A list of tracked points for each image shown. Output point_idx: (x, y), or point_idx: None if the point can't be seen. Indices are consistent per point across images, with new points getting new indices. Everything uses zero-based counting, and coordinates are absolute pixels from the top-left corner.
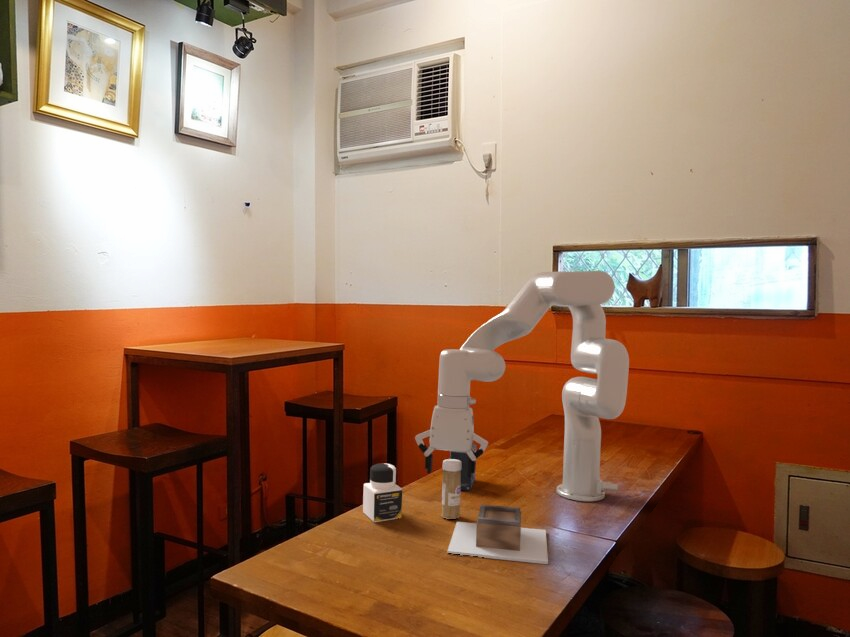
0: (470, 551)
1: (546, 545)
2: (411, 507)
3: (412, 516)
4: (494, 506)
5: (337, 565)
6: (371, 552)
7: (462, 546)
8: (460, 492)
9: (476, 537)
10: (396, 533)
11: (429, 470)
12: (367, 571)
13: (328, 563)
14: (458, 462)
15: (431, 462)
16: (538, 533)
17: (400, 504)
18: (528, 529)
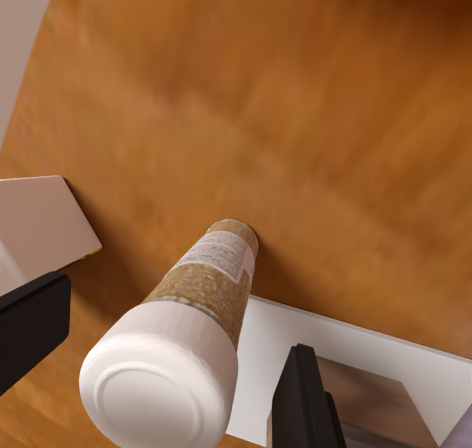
0: (251, 436)
1: (440, 444)
2: (119, 165)
3: (129, 235)
4: (348, 446)
5: (41, 421)
6: (77, 393)
7: (238, 416)
8: (250, 288)
9: (266, 443)
10: (106, 327)
11: (50, 346)
12: (86, 443)
13: (27, 414)
14: (197, 444)
15: (12, 353)
16: (456, 388)
17: (70, 264)
18: (439, 363)
